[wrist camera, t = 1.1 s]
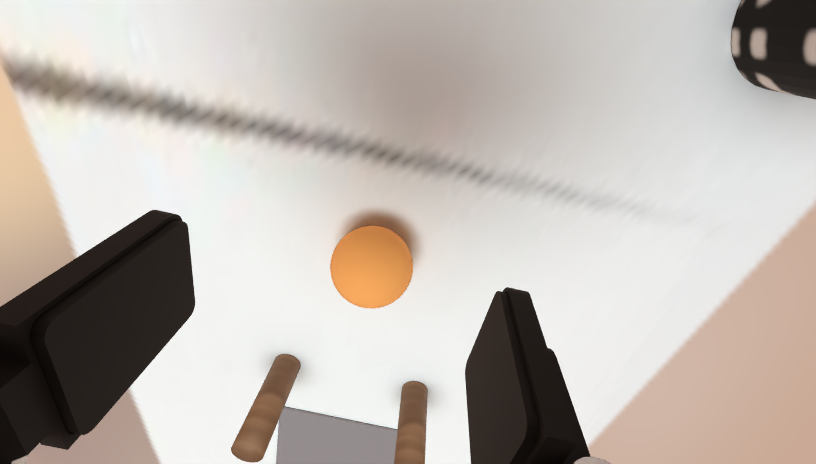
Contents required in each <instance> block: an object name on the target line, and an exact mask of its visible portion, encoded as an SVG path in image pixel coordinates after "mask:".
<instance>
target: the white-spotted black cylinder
mask: <svg viewBox="0 0 816 464" xmlns="http://www.w3.org/2000/svg"><path fill="white" fill-rule="evenodd" d="M731 46H732V53H733V58H734V61H735V63H736V66H737V68H738V70H739V71H740V72H741V73H742V75H743V76H744V77H745V78H746V79H747V80H749V81H750V82H751V83H753V84H754V85H756V86H759V87H762V88H764V89H767V90H772V91H777V92H782V93H787V94H792V95H797V96H802V97H807V98H812V99H816V0H742V1H741V4H740V6H739V8H738V10H737V13H736V17H735V20H734V24H733V28H732V39H731Z"/></svg>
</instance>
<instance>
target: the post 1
mask: <svg viewBox="0 0 816 464" xmlns="http://www.w3.org/2000/svg"><path fill="white" fill-rule="evenodd" d="M299 369H300V362H299V361H298V359H296V358H295V357H293V356H291V355H287V354H282V355H279V356H277V357H276V359H275V361H274V363H273V365H272V367H271V369H270V371H269V373H268V375H267V377H266V379H265V381H264V383H263V385H262V387H261V389H260V391H259V393H258V395H257V397H256V399H255V401H254V403H253V405H252V407H251V409H250V411H249V413H248V415H247V417H246V419H245V421H244V423H243V425H242V427H241V429H240V431H239V433H238V435H237V437H236V439H235V441H234V443H233V445H232V447H231V451H232V453H233V455H234V456H236V457H237V458H239V459H240V460H243V461H246V462H258V461H260V460H262V459H263V456H264V454H265V452H266V449H267V447H268V444H269V442H270V440H271V437H272V435H273V432H274V430H275V427H276V425H277V423H278V420H279V418H280V415H281V413H282V410H283V408H284V406H285V403H286V401H287V398H288V396H289V393H290V391H291V389H292V386H293V384H294V381H295V379H296V376H297V374H298V372H299Z"/></svg>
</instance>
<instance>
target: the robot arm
mask: <svg viewBox="0 0 816 464" xmlns="http://www.w3.org/2000/svg"><path fill="white" fill-rule="evenodd" d="M194 307H195V296H194V286H193V275H192V265H191V254H190V244H189V233H188V226H187V224H186V223H185V222H182V219H181V217H180V216H179V215H176V214H172V213H167V212H163V211H158V210H152V211H149V212H148V213H146V214H145V215H143V216H141V217H140V218H138V219H137V220H135V221H134V222H132V223H131V224H129V225H127V226H126V227H124V228H123V229H121V230H120V231H118V232H117V233H115V234H113V235H112V236H110V237H109V238H107V239H106V240H104V241H102V242H101V243H99V244H98V245H96V246H95V247H93V248H92V249H90V250H88V251H87V252H85V253H84V254H82V255H81V256H79V257H77V258H76V259H74V260H73V261H71V262H70V263H68V264H67V265H65V266H63V267H62V268H60V269H59V270H57V271H56V272H54V273H53V274H51V275H49V276H48V277H46V278H45V279H43V280H42V281H40V282H39V283H37V284H35V285H34V286H32V287H31V288H29V289H28V290H26V291H25V292H23V293H21V294H20V295H18V296H17V297H15V298H13V299H12V300H10V301H9V302H7V303H6V304H4V305H3V306H1V307H0V464H26V460H27V456H28V454H29V453H30V452H31V451H32V450H33V449H34V448H35V447H36V446H37V445H38V444H39V443H41V445H46V446H52V447H57V448H62V449H67V450H68V449H69V448H70V446H71V445H72V444H73V443H74V442H75V441H76V440H77V439H78V438H79V436H80V435H85V434H87V433H89V432H90V431H91V430H93V428H95V426H96V425H97V424H98V423H99V422H100V421H101V420H102V418H103V417H104V416H105V415H106V414H107V412H108V411H109V410H110V409H111V408H112V406H114V404H115V403H116V402H117V401H118V400H119V399H120V397H121V396H122V395H123V394H124V393H125V392H126V391H127V389H128V388H129V387H130V386H131V385H132V384H133V382H134V381H135V380H136V379H137V378H138V377H139V375H140V374H141V373H142V372H143V371H144V370H145V368H146V367H147V366H148V365H149V364H150V363H151V361H152V360H153V359H154V358H155V357H156V356H157V354H158V353H159V352H160V351H161V350H162V349H163V348H164V346H165V345H166V344H167V343H168V342H169V341H170V339H171V338H172V337H173V336H174V335H175V334H176V332H177V331H178V330H179V329H180V328H181V327H182V325H183V324H184V323H185V322H186V321H187V320H188V318H189V317H190V316H191V314H192V313H193V310H194ZM465 379H466V394H467V408H468V423H469V438H470V453H471V464H611V463H609V462H607V461H606V460H603V459H600V458H596V457H590V454H589V451H588V448H587V445H586V442H585V439H584V436H583V433H582V430H581V428H580V425H579V422H578V419H577V416H576V413H575V410H574V407H573V404H572V401H571V398H570V396H569V393H568V390H567V387H566V384H565V381H564V378H563V375H562V372H561V369H560V367H559V364H558V361H557V358H556V356H555V354H554V352H553V351H552V350H551V349H549V348H547V346H546V342H545V339H544V336H543V333H542V330H541V327H540V324H539V321H538V318H537V315H536V312H535V309H534V306H533V303H532V300H531V297H530V294H529V293H528V292H526V291H522V290H517V289H512V288H508V287H507V288H505V289H504V290H503V292H500V291H497V292H496V294H495V296H494V298H493V300H492V303H491V305H490V308H489V310H488V312H487V315H486V317H485V320H484V322H483V324H482V327H481V329H480V332H479V334H478V336H477V339H476V341H475V344H474V346H473V348H472V351H471V353H470V356H469V358H468V360H467V364H466V369H465Z"/></svg>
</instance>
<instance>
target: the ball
mask: <svg viewBox="0 0 816 464" xmlns="http://www.w3.org/2000/svg"><path fill="white" fill-rule="evenodd" d="M330 270H331V277H332V280H333V283H334V285H335V287H336V289H337V291H338V292H339V293H340V294H341V296H342V297H343V298H345V299H346V300H347V301H349V302H350V303H352V304H354V305H356V306H359V307H363V308H380V307H384V306H386V305H389V304H391V303H393V302H394V301H395V300H397V299H398V298H399V297H400V296H401V295H402V294H403V293H404V292H405V290H406V289H407V287H408V285H409V283H410V281H411V278H412V273H413V261H412V256H411V253H410V250H409V248H408V246H407V245H406V243H405V242H404V241H403V239H402V238H401V237H400V236H399V235H397V234H396V233H395V232H393V231H391V230H389V229H387V228H384V227H380V226H365V227H360V228H357V229H355V230H353V231H351V232H349V233H348V234H347V235H345V236H344V237H343V238H342V239H341V240H340V242H339V243H338V244H337V246H336V248H335V249H334V252H333V255H332V258H331V265H330Z"/></svg>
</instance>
